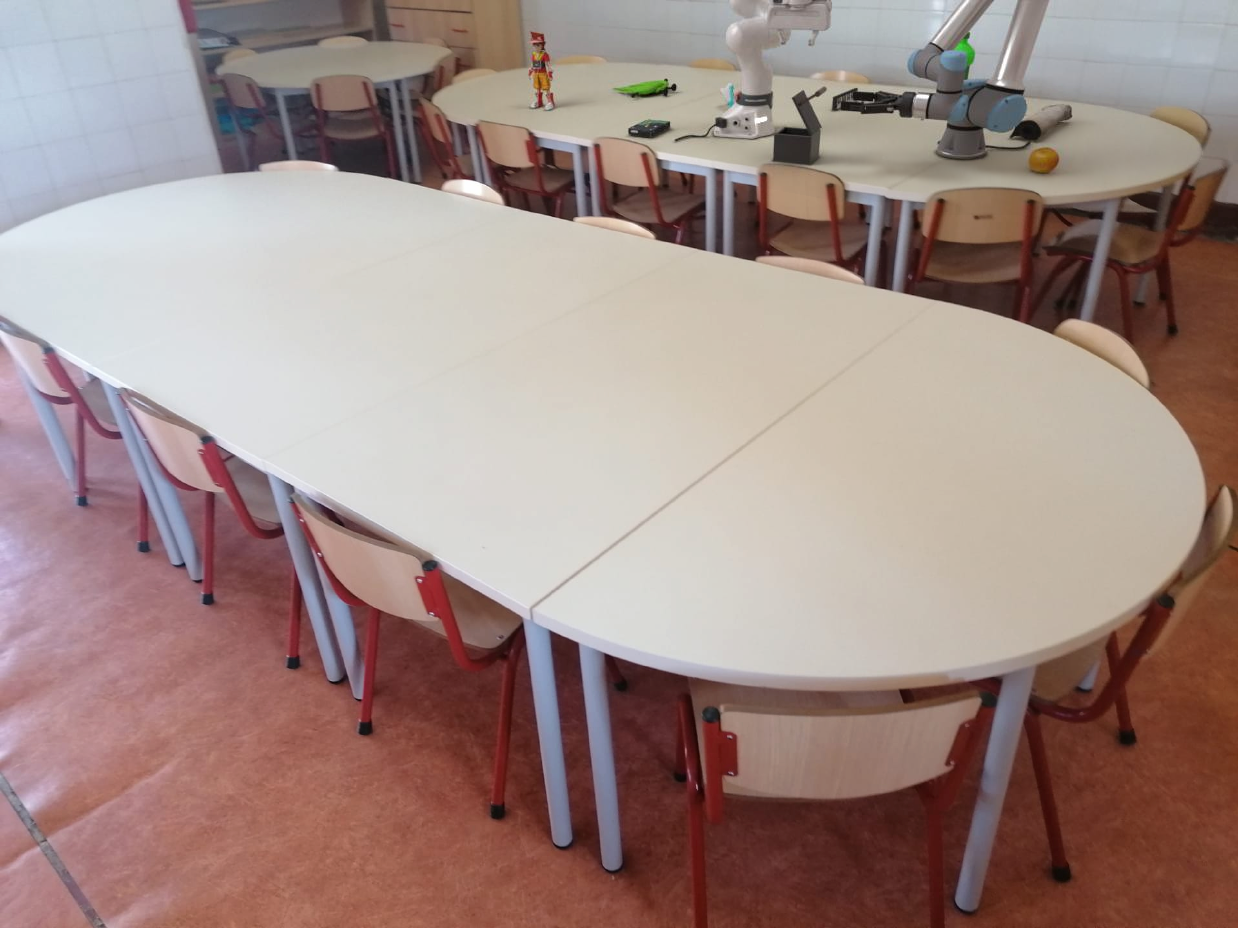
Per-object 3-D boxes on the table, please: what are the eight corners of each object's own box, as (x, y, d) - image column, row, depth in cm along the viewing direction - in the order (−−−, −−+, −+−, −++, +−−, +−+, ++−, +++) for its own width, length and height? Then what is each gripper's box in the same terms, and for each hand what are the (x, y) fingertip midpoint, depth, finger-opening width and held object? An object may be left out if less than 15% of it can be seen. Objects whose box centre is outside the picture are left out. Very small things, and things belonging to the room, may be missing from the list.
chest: (772, 161, 304) (774, 134, 298) (782, 153, 310) (784, 126, 305) (809, 164, 298) (811, 137, 293) (818, 156, 305) (820, 129, 300)
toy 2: (686, 85, 398) (631, 84, 414) (685, 72, 395) (629, 72, 411) (651, 104, 381) (596, 103, 397) (650, 92, 378) (594, 91, 394)
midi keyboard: (834, 110, 353) (835, 97, 350) (831, 110, 354) (832, 97, 351) (857, 101, 364) (858, 88, 361) (854, 101, 364) (855, 88, 361)
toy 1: (525, 109, 381) (517, 32, 364) (534, 104, 388) (527, 28, 371) (550, 110, 377) (543, 32, 360) (559, 105, 384) (553, 28, 367)
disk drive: (651, 138, 334) (670, 128, 344) (651, 131, 332) (670, 120, 342) (627, 136, 339) (647, 125, 349) (627, 128, 337) (647, 118, 347)
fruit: (1023, 163, 276) (1041, 139, 273) (1022, 165, 284) (1039, 142, 281) (1047, 178, 275) (1065, 155, 272) (1044, 180, 283) (1062, 157, 280)
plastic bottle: (973, 101, 354) (984, 32, 339) (955, 106, 349) (966, 36, 335) (952, 97, 361) (962, 29, 346) (934, 102, 356) (944, 33, 342)
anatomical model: (716, 82, 367) (740, 75, 367) (721, 107, 373) (744, 101, 372) (722, 90, 355) (747, 83, 354) (727, 117, 361) (751, 110, 360)
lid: (791, 98, 290) (813, 84, 284) (801, 91, 296) (823, 78, 291) (810, 136, 293) (832, 123, 288) (819, 128, 300) (841, 116, 294)
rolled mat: (1039, 109, 327) (1064, 92, 319) (1053, 130, 328) (1078, 113, 320) (1005, 132, 310) (1030, 114, 302) (1020, 154, 310) (1045, 137, 302)
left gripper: (835, -5, 275) (831, 44, 283) (772, -6, 284) (770, 42, 291) (829, -1, 271) (825, 48, 278) (765, -3, 279) (763, 46, 287)
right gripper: (902, 128, 271) (834, 122, 280) (922, 108, 288) (857, 104, 297) (906, 102, 267) (836, 97, 275) (925, 83, 284) (859, 80, 293)
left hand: (796, 45), depth 285 cm, fingers open, 8 cm apart
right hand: (847, 100), depth 286 cm, fingers open, 13 cm apart
